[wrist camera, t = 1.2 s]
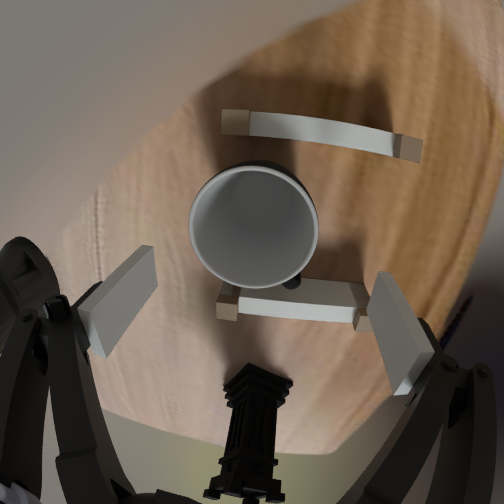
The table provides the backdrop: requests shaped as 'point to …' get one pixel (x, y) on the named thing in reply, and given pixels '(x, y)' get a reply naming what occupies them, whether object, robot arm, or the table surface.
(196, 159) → the table surface
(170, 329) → the table surface
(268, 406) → the chess piece
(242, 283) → the mug
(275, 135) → the chute
